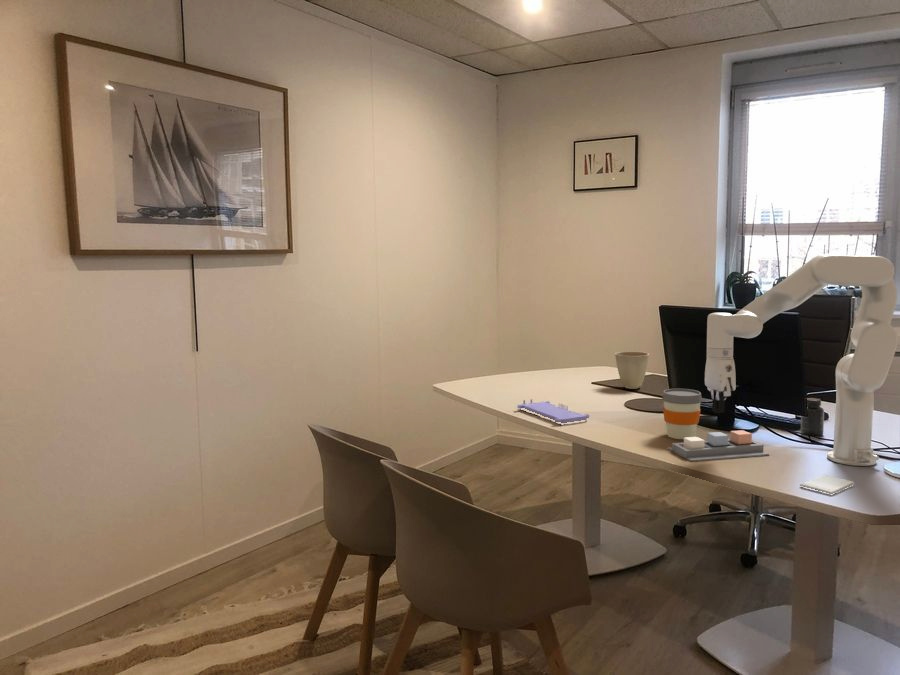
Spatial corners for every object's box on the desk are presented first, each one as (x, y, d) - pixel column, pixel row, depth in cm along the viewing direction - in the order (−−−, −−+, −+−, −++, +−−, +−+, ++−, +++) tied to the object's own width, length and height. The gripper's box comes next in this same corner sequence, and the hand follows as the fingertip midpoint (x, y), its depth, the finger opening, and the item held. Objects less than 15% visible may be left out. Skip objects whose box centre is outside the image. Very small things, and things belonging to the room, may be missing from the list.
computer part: (545, 406, 282) (514, 410, 276) (545, 396, 282) (513, 400, 275) (590, 422, 256) (557, 427, 249) (591, 411, 255) (557, 416, 249)
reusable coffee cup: (698, 431, 239) (699, 389, 237) (702, 441, 227) (704, 396, 225) (660, 430, 241) (661, 388, 240) (662, 439, 229) (663, 395, 227)
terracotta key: (751, 443, 214) (751, 433, 214) (738, 444, 213) (738, 434, 213) (742, 439, 218) (743, 430, 218) (730, 440, 218) (730, 431, 217)
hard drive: (822, 474, 189) (799, 483, 182) (854, 481, 183) (832, 491, 176) (822, 479, 190) (799, 489, 182) (854, 487, 183) (831, 497, 176)
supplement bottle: (813, 430, 237) (815, 396, 236) (827, 436, 231) (829, 400, 229) (795, 432, 236) (797, 397, 235) (809, 437, 229) (811, 401, 228)
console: (769, 455, 210) (769, 447, 210) (690, 461, 205) (691, 453, 205) (741, 443, 224) (741, 435, 224) (667, 448, 219) (667, 441, 219)
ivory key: (704, 449, 211) (704, 440, 211) (691, 450, 210) (691, 441, 210) (696, 445, 216) (696, 436, 215) (683, 446, 215) (683, 437, 214)
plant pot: (647, 385, 320) (648, 351, 318) (649, 392, 306) (650, 356, 304) (614, 384, 324) (615, 350, 322) (614, 391, 309) (615, 355, 307)
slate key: (728, 444, 213) (728, 435, 212) (715, 445, 212) (715, 436, 211) (719, 441, 217) (720, 431, 217) (707, 442, 216) (707, 432, 216)
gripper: (745, 356, 204) (744, 416, 206) (716, 349, 219) (715, 406, 221) (722, 357, 203) (721, 418, 205) (695, 350, 217) (694, 407, 220)
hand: (718, 411), depth 213 cm, fingers closed
